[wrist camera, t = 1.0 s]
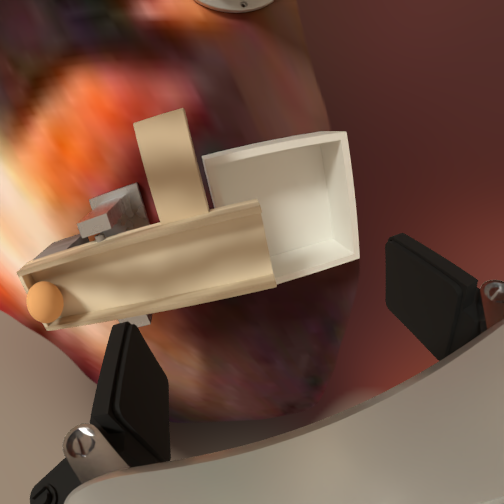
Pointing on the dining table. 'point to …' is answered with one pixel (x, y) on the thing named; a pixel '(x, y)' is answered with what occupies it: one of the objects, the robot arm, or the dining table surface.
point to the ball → (44, 302)
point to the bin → (294, 198)
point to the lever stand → (117, 222)
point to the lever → (159, 244)
